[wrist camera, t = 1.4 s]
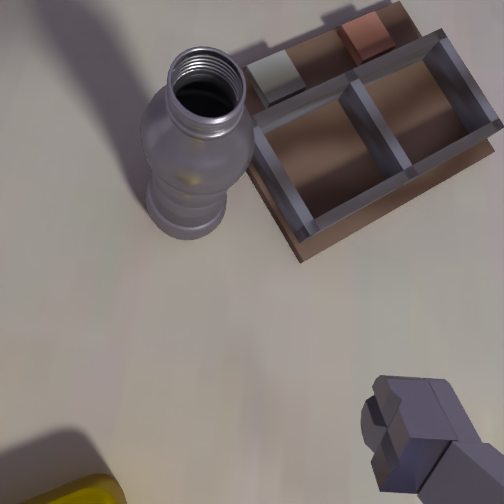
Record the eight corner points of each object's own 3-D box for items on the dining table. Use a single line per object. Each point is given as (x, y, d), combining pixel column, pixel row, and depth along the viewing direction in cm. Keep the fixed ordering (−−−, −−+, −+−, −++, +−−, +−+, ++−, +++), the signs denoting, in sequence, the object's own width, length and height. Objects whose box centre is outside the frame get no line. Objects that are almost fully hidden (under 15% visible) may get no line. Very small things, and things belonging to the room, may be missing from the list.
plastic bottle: (205, 161, 42) (244, 2, 22) (234, 232, 41) (300, 129, 22) (134, 184, 40) (111, 33, 21) (163, 257, 39) (166, 171, 20)
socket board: (199, 91, 43) (203, 66, 39) (394, 7, 49) (414, -22, 45) (300, 263, 41) (314, 254, 38) (488, 155, 47) (517, 138, 44)
